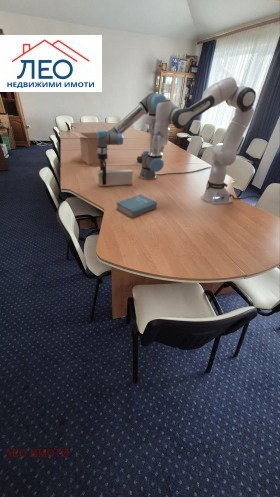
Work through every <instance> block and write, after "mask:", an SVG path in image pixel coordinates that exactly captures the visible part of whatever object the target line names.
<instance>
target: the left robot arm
mask: <svg viewBox="0 0 280 497" xmlns="http://www.w3.org/2000/svg"><path fill="white" fill-rule="evenodd" d="M162 100H168V99H167V97H166V96H165V95H164V94H162V93H159V92H158V93H157V92H150V93H148V94H147V95H146V96H145V97H143V99H141V100H140V101H139V102H138V105H137V106H136V107H135V108H133V110H131V111H130V112H128V114H126V116H124V118H122V119H121V120H120V121H119V122H117V124H115V125H114V126H112V128H110V129H108V130H105V129H99V130H97V131H96V132H97V152H98V159H100V164H99V167H100V169H99V170H102V174H103V176H102V179H103V185H106V170H107V162H105V159H106V160H108V158H109V156H108V150H109V148H108V146H120V145H123V144H124V135H123V134H124V133H125V132H126V131H127V130H128V129H129V128H131V127H132V126H133V125H134V124H135V123H136V122H138V121H139V120H140V119H141V118H143V117H144V115H145V116H147V115H148V117H149V118H150V131H149V132H150V133H149V134H150V136H149V137H150V139H149V150H143V152H142V154H143V155H142V154H141V156H143V158H142V163H141V169H140V172H139V178H140V179H142V180H146V181H154V180H156V178H157V176H165V175H178V174H179V175H180V174H181V175H182V172H166V173H162V174H161V173H157V172H160V171H161V170H162V169H163V168H164V165H165V163H164V160H163V153H160V149H161V148H159V149H158V156H155V151H154V149H152V142H153V137H154V136H155V134H154V129H155V123H156V109H157V105H158V103H159V102H160V101H162ZM205 169H211V166H207V167H204V168H201V169H197V170H193V171H184V172H183V174H190V173H196V172H200V171H202V170H205Z"/></svg>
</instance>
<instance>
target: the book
mask: <svg viewBox="0 0 280 497" xmlns="http://www.w3.org/2000/svg"><path fill="white" fill-rule="evenodd" d="M115 204H116V210H117V211H119V212H121V213H122V214H124V215H126V216H128V217H129V218H130V219H131V218H134V217H137V216H141V215H142V214H145V213H147V212H150V211H153V210H155V209H157V206H158V202H157V201H156V200H154V199H151V197H150V198H149V197H147V196H145V195H143V194H137V195H134V196H131V197H128V198H126V199H123V200H119V201H117V202H116V203H115Z"/></svg>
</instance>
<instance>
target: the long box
mask: <svg viewBox="0 0 280 497" xmlns="http://www.w3.org/2000/svg"><path fill="white" fill-rule="evenodd" d="M102 176H103V174H102V170H100V169H97V184H98V186H99V187H107V186H109V187H110V186H124V185H125V186H126V185H133V178H134V177H133V176H134V171H133V170H132V169H131V168H126V169H125V168H124V169H106V185H103V179H102Z"/></svg>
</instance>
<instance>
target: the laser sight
mask: <svg viewBox="0 0 280 497" xmlns="http://www.w3.org/2000/svg"><path fill="white" fill-rule="evenodd" d="M142 155H143V153H141V155H140V156H139V155H137V157H136V163H140V164H142V158H143V156H142Z"/></svg>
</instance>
